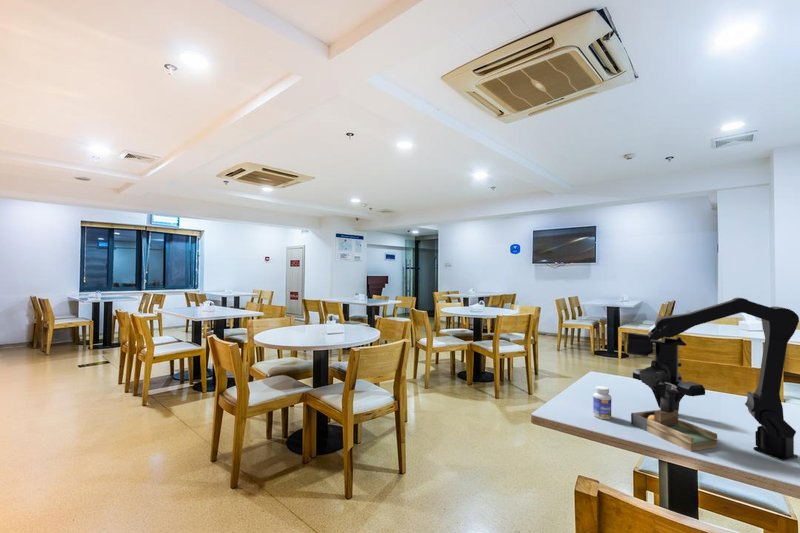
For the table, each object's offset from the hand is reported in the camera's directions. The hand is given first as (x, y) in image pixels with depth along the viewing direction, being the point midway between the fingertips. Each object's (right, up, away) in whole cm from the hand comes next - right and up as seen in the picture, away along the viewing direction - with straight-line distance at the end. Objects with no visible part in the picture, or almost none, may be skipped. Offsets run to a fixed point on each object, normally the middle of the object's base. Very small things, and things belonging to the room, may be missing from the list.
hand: (666, 409), depth 112 cm
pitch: (+1, -7, -4) cm, 8 cm away
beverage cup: (+12, -8, +15) cm, 21 cm away
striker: (0, -5, 0) cm, 5 cm away
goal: (-1, -7, +5) cm, 8 cm away
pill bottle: (-13, -7, +12) cm, 19 cm away
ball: (-1, -4, +5) cm, 6 cm away
